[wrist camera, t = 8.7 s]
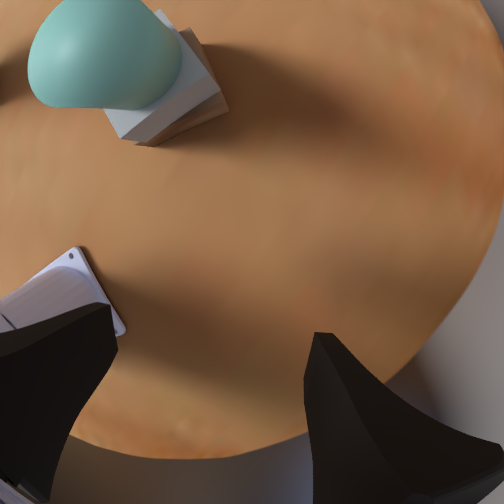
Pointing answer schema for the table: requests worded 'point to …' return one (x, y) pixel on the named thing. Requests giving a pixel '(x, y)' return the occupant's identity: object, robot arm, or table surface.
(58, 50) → the teal rounded piece
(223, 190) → the table surface
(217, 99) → the tower base
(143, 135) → the tower top
